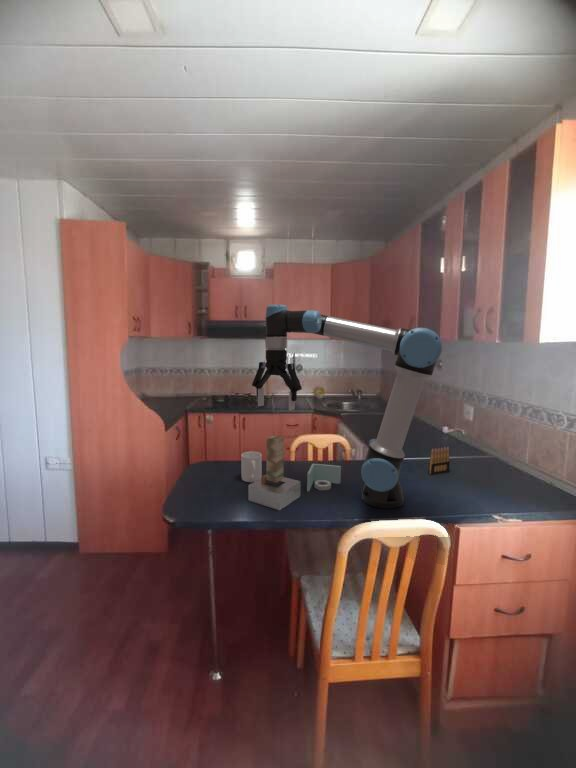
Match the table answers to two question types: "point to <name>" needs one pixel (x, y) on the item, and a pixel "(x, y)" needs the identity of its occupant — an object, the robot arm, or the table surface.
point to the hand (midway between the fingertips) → (275, 407)
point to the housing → (274, 492)
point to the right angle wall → (323, 476)
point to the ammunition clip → (439, 461)
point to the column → (275, 458)
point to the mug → (251, 466)
